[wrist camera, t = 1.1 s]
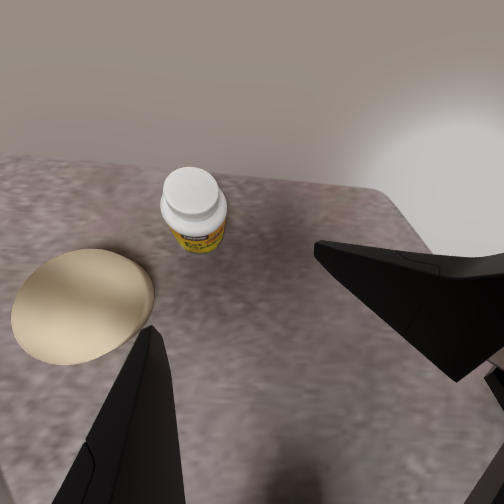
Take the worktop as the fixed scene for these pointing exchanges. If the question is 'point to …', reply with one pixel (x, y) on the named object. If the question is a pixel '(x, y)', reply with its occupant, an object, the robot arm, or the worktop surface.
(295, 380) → the worktop surface
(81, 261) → the birch plinth
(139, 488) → the robot arm
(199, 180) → the supplement bottle
